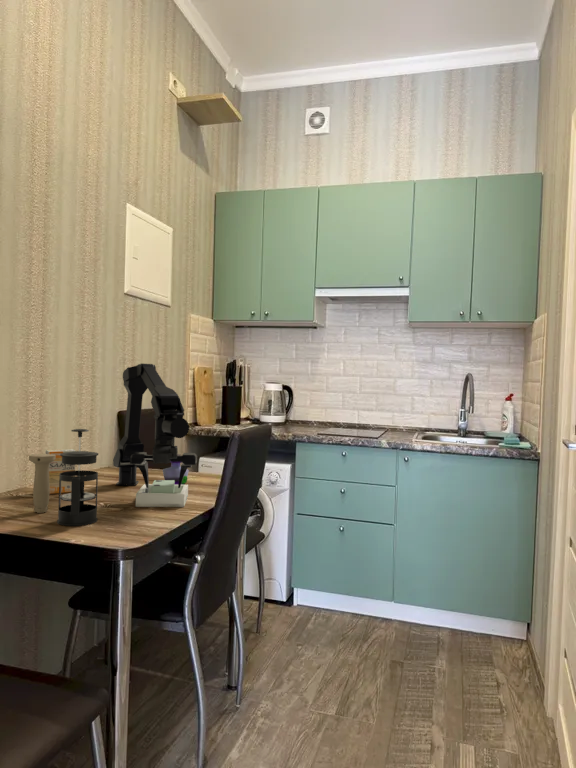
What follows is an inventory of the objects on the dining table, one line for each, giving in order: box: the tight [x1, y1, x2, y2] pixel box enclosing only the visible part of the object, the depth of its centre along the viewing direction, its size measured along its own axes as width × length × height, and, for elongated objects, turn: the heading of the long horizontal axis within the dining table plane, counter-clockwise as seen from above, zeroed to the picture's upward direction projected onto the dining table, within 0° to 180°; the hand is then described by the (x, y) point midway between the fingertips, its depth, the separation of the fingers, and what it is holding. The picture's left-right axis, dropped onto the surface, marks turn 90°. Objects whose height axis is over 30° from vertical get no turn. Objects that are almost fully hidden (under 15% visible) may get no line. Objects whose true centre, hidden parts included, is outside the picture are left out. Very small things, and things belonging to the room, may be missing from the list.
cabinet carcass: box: [135, 483, 189, 508], centre depth 162 cm, size 14×13×4 cm
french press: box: [56, 428, 99, 527], centre depth 137 cm, size 12×9×23 cm
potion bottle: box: [162, 453, 190, 485], centre depth 178 cm, size 9×9×12 cm
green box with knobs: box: [151, 479, 175, 493], centre depth 162 cm, size 10×6×5 cm, turn 9°
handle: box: [28, 453, 56, 514], centre depth 145 cm, size 5×6×15 cm
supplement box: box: [45, 449, 76, 495], centre depth 171 cm, size 8×5×13 cm, turn 123°
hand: (163, 487), depth 162 cm, fingers open, 9 cm apart
